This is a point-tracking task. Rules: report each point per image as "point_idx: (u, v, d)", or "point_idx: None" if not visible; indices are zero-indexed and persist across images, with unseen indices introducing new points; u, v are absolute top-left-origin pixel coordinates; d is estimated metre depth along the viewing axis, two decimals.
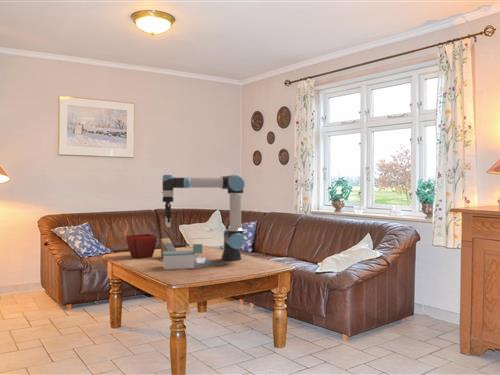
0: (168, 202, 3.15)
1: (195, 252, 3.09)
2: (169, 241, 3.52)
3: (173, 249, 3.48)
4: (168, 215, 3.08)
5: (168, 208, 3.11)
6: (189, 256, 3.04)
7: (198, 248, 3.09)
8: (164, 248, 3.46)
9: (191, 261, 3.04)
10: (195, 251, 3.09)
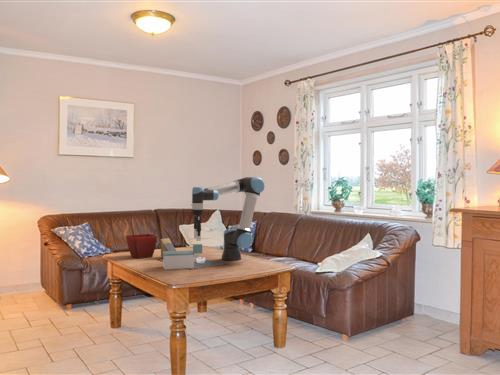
0: (198, 215, 3.07)
1: (195, 252, 3.09)
2: (169, 241, 3.52)
3: (173, 249, 3.48)
4: (198, 229, 3.01)
5: (198, 221, 3.03)
6: (189, 256, 3.04)
7: (198, 248, 3.09)
8: (164, 248, 3.45)
9: (191, 261, 3.04)
10: (195, 251, 3.09)
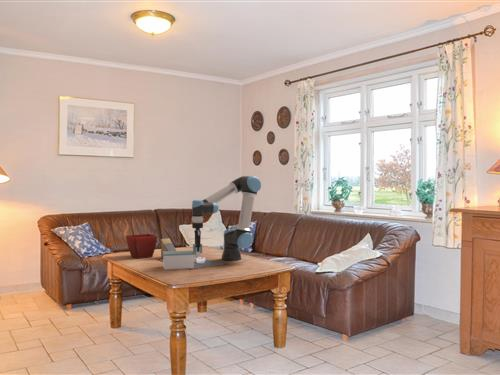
0: (198, 228, 3.07)
1: (195, 252, 3.09)
2: (169, 241, 3.51)
3: (173, 249, 3.47)
4: (198, 245, 3.06)
5: (198, 237, 3.05)
6: (189, 256, 3.04)
7: None
8: (164, 248, 3.45)
9: (191, 261, 3.04)
10: (195, 251, 3.09)
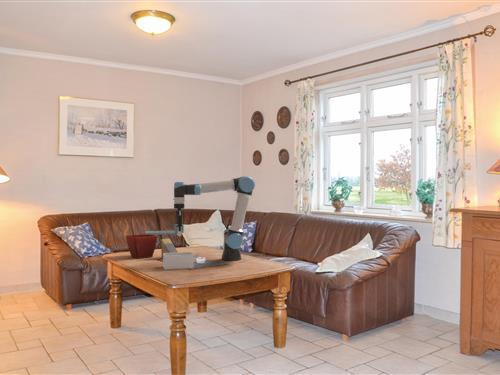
0: (179, 209, 3.19)
1: (176, 232, 3.21)
2: (169, 241, 3.50)
3: (174, 249, 3.46)
4: (179, 224, 3.17)
5: (179, 217, 3.17)
6: (189, 256, 3.04)
7: None
8: (165, 248, 3.44)
9: (191, 261, 3.04)
10: (176, 231, 3.21)
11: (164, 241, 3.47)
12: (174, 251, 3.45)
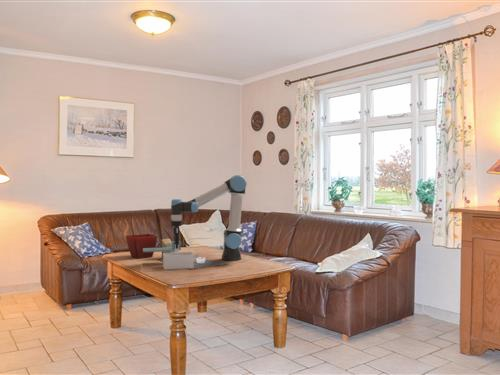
0: (177, 226, 3.22)
1: (174, 249, 3.23)
2: (170, 241, 3.50)
3: None
4: (176, 242, 3.20)
5: (176, 235, 3.20)
6: (189, 256, 3.04)
7: None
8: None
9: (191, 261, 3.04)
10: (174, 248, 3.23)
11: (164, 241, 3.46)
12: None
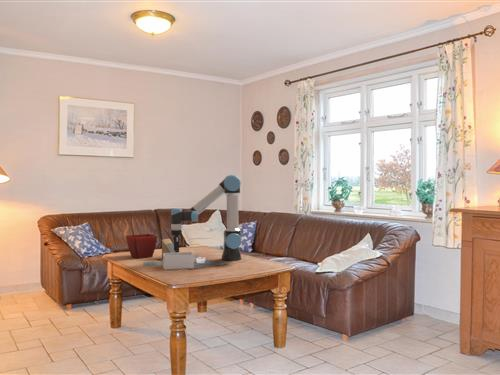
0: (177, 235, 3.22)
1: None
2: (170, 242, 3.49)
3: None
4: (176, 251, 3.18)
5: (177, 243, 3.19)
6: (189, 256, 3.04)
7: None
8: (166, 249, 3.43)
9: (191, 261, 3.04)
10: None
11: (164, 241, 3.46)
12: None
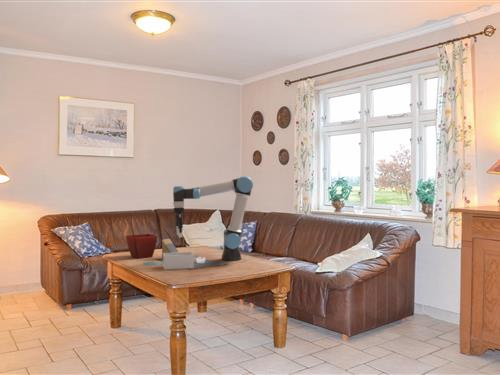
0: (179, 213, 3.23)
1: None
2: (170, 242, 3.49)
3: (175, 250, 3.45)
4: (180, 226, 3.17)
5: (180, 219, 3.19)
6: (189, 256, 3.04)
7: None
8: (166, 249, 3.42)
9: (191, 261, 3.04)
10: None
11: (165, 241, 3.45)
12: (175, 251, 3.44)
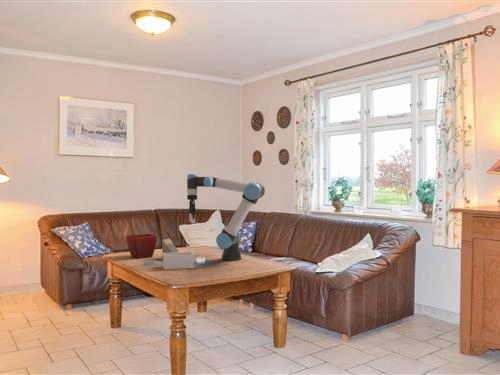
0: (192, 200, 3.34)
1: None
2: (170, 242, 3.48)
3: (175, 250, 3.45)
4: (193, 212, 3.28)
5: (193, 205, 3.30)
6: (189, 256, 3.04)
7: None
8: (166, 249, 3.42)
9: (191, 261, 3.04)
10: None
11: (165, 241, 3.45)
12: (176, 251, 3.43)
